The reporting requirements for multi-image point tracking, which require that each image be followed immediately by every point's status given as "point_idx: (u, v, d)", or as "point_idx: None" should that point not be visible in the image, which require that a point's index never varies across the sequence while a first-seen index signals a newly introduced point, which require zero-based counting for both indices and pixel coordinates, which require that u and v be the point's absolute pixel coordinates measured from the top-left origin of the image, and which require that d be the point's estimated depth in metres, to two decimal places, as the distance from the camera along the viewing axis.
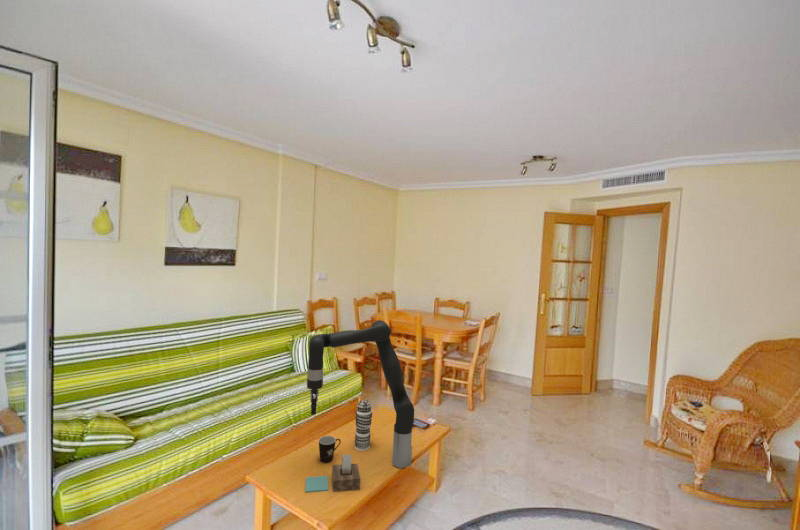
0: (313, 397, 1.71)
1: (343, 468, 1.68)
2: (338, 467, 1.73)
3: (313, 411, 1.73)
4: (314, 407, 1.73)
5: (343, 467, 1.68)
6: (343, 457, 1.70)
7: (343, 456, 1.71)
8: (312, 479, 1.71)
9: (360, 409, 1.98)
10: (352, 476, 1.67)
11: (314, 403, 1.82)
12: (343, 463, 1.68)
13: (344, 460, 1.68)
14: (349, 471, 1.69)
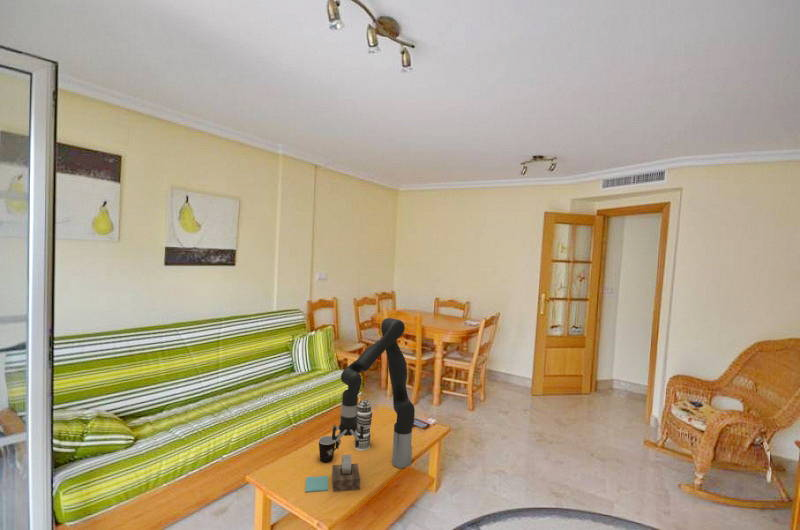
0: None
1: (343, 468, 1.68)
2: (338, 467, 1.73)
3: (358, 443, 1.71)
4: None
5: (343, 467, 1.68)
6: (343, 457, 1.70)
7: (343, 456, 1.71)
8: (312, 479, 1.71)
9: (360, 409, 1.98)
10: (352, 476, 1.67)
11: (338, 443, 1.70)
12: (343, 463, 1.68)
13: (344, 460, 1.68)
14: (349, 471, 1.69)
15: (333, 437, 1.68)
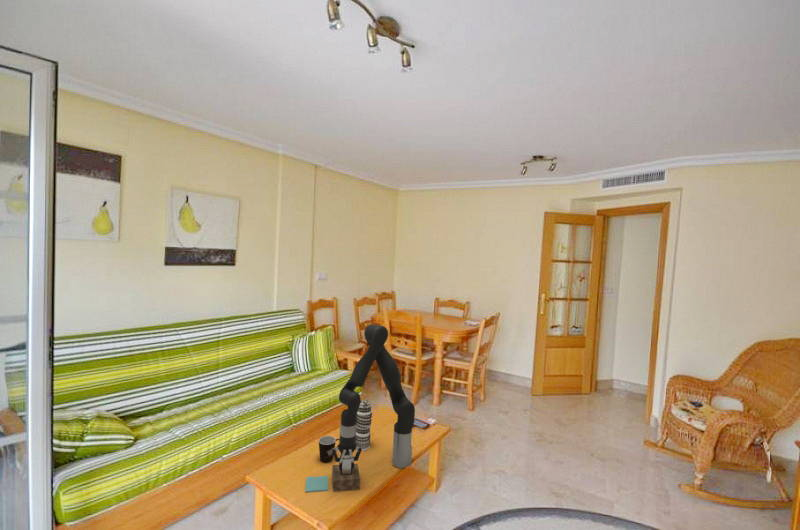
0: None
1: (343, 468, 1.68)
2: (338, 467, 1.73)
3: (353, 464, 1.71)
4: (353, 460, 1.71)
5: (343, 467, 1.68)
6: None
7: None
8: (312, 479, 1.71)
9: (360, 409, 1.98)
10: (352, 476, 1.67)
11: None
12: (343, 463, 1.68)
13: (344, 460, 1.68)
14: (349, 471, 1.69)
15: (337, 459, 1.68)
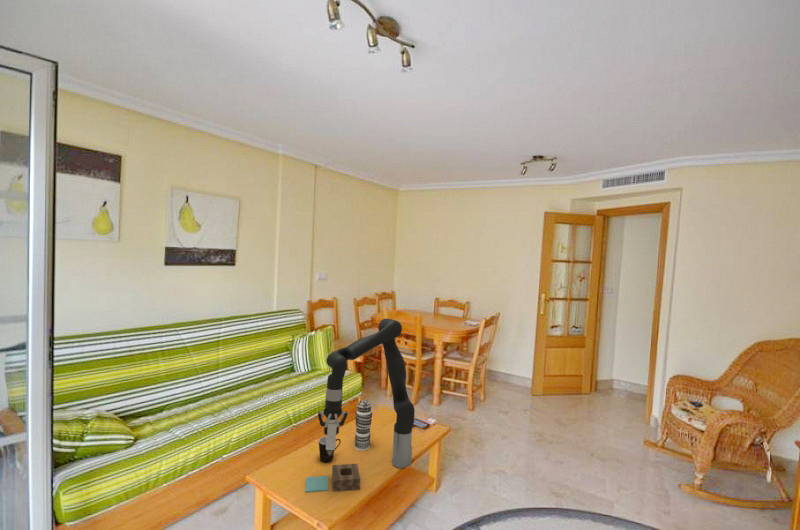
0: None
1: (328, 432, 1.66)
2: (338, 467, 1.73)
3: (338, 430, 1.69)
4: None
5: (328, 431, 1.66)
6: (329, 422, 1.68)
7: (329, 421, 1.68)
8: (312, 479, 1.71)
9: (360, 409, 1.98)
10: (352, 476, 1.67)
11: None
12: (328, 427, 1.66)
13: (329, 424, 1.66)
14: (334, 436, 1.67)
15: (322, 423, 1.66)
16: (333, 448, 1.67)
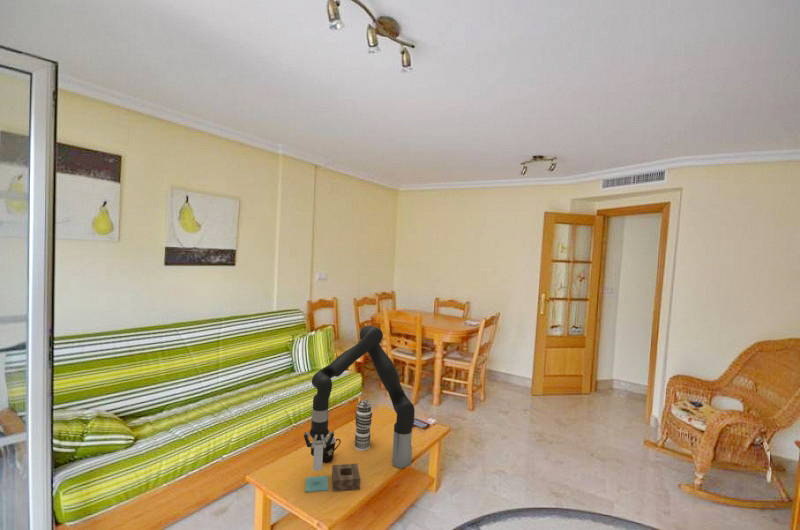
0: None
1: (315, 453, 1.65)
2: (338, 467, 1.73)
3: (325, 450, 1.68)
4: None
5: (315, 452, 1.65)
6: (315, 442, 1.67)
7: None
8: (312, 479, 1.71)
9: (360, 409, 1.98)
10: (352, 476, 1.67)
11: None
12: (315, 448, 1.65)
13: (316, 445, 1.65)
14: (321, 456, 1.66)
15: (308, 444, 1.65)
16: (320, 469, 1.66)
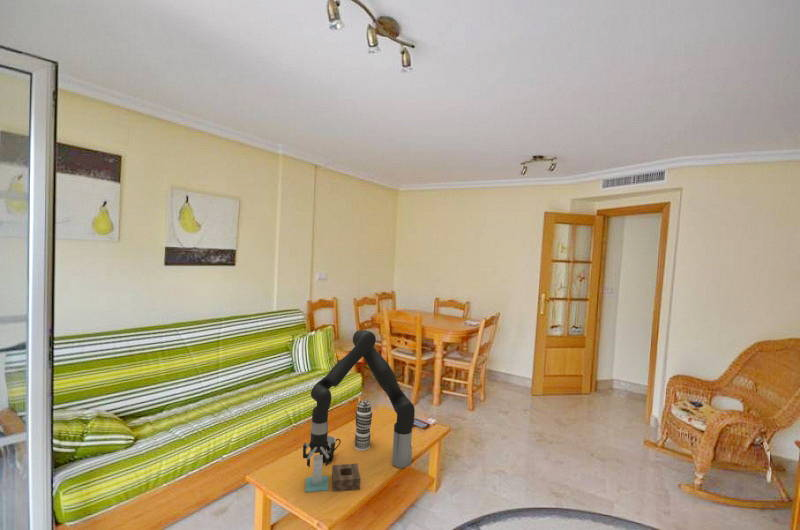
0: (333, 445, 1.69)
1: (314, 469, 1.65)
2: (338, 467, 1.73)
3: (328, 460, 1.69)
4: None
5: (314, 468, 1.65)
6: (315, 457, 1.67)
7: (314, 456, 1.68)
8: (312, 479, 1.71)
9: (360, 409, 1.98)
10: (352, 476, 1.67)
11: None
12: (314, 464, 1.65)
13: (315, 461, 1.65)
14: (320, 472, 1.66)
15: (304, 455, 1.65)
16: (320, 484, 1.66)
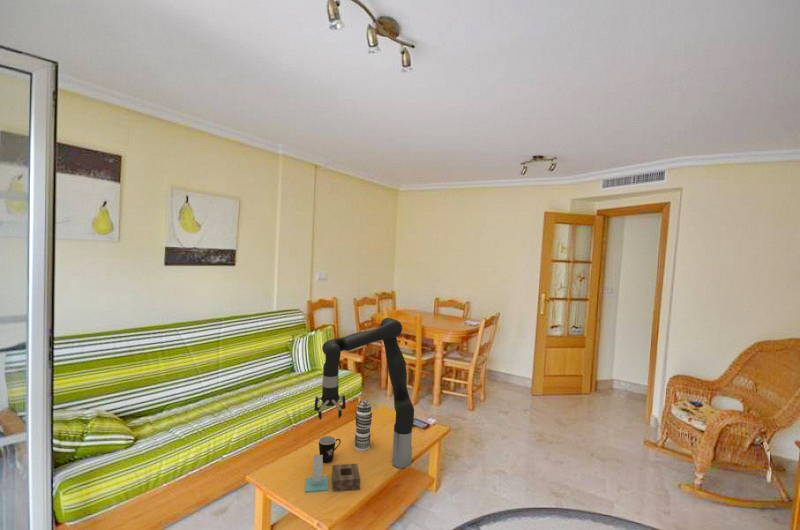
0: None
1: (314, 469, 1.65)
2: (338, 467, 1.73)
3: (341, 413, 1.74)
4: (341, 409, 1.74)
5: (314, 468, 1.65)
6: (315, 457, 1.67)
7: (314, 456, 1.68)
8: (312, 479, 1.71)
9: (360, 409, 1.98)
10: (352, 476, 1.67)
11: (321, 414, 1.72)
12: (314, 464, 1.65)
13: (315, 461, 1.65)
14: (320, 472, 1.66)
15: (315, 408, 1.70)
16: (320, 484, 1.66)
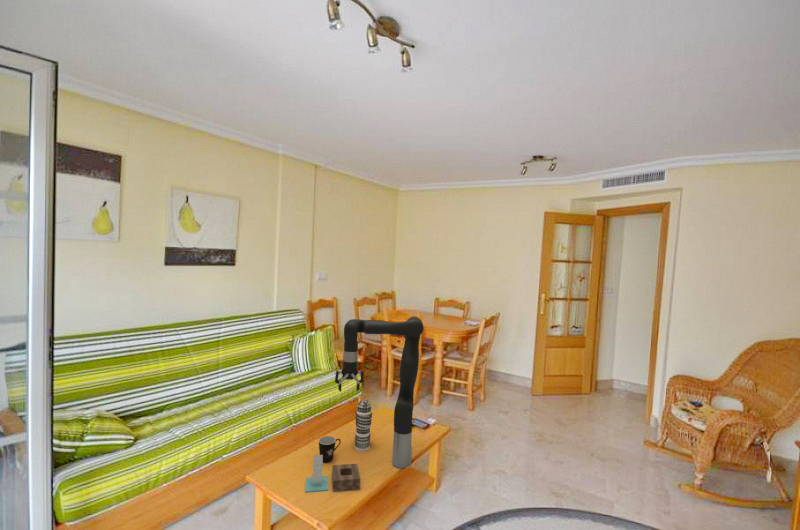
0: None
1: (314, 469, 1.65)
2: (338, 467, 1.73)
3: (359, 386, 1.88)
4: (359, 383, 1.89)
5: (314, 468, 1.65)
6: (315, 457, 1.67)
7: (314, 456, 1.68)
8: (312, 479, 1.71)
9: (360, 409, 1.98)
10: (352, 476, 1.67)
11: None
12: (314, 464, 1.65)
13: (315, 461, 1.65)
14: (320, 472, 1.66)
15: (336, 380, 1.84)
16: (320, 484, 1.66)
